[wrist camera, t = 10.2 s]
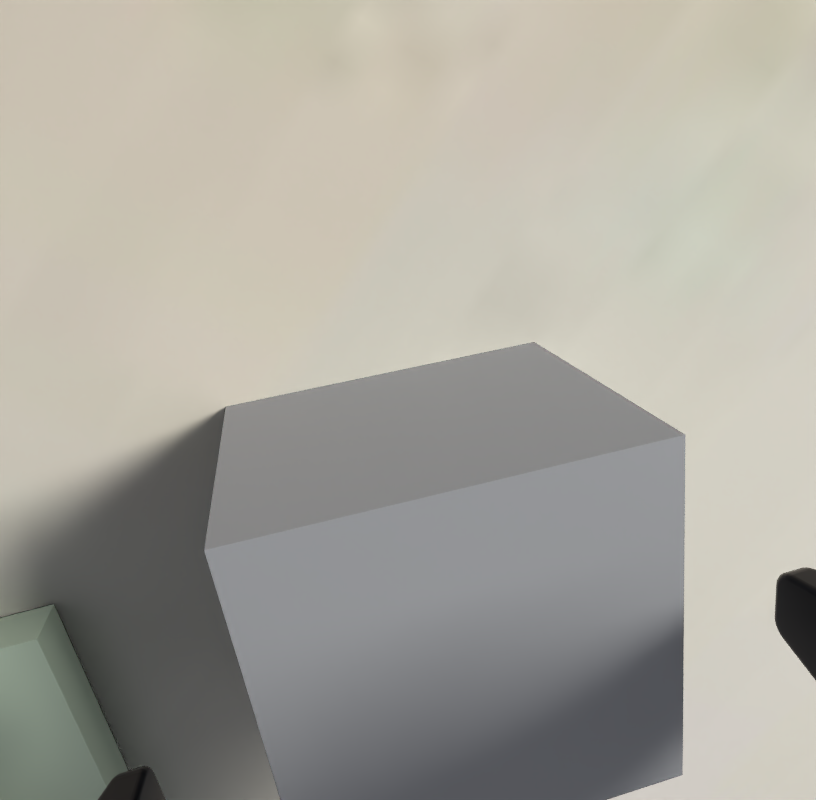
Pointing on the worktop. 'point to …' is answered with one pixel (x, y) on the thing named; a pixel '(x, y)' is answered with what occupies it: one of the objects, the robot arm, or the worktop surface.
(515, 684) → the slate block
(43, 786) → the baseplate
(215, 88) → the worktop surface
